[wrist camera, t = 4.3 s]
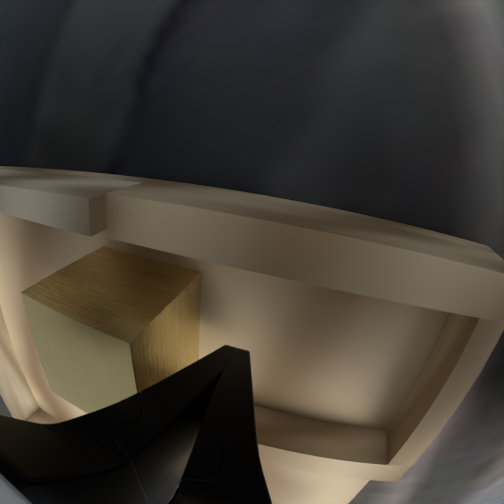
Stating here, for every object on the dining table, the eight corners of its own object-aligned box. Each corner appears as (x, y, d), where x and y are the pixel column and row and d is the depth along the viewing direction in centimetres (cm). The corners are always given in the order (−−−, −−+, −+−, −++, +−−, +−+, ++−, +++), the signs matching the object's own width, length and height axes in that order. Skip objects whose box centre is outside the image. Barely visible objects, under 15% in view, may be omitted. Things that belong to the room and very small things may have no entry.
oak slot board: (487, 245, 8) (537, 291, 5) (327, 515, 15) (319, 554, 12) (-17, 165, 13) (-61, 177, 10) (41, 404, 20) (18, 426, 17)
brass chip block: (202, 271, 10) (129, 344, 6) (198, 366, 11) (147, 443, 8) (103, 246, 11) (20, 292, 7) (112, 334, 12) (51, 391, 8)
